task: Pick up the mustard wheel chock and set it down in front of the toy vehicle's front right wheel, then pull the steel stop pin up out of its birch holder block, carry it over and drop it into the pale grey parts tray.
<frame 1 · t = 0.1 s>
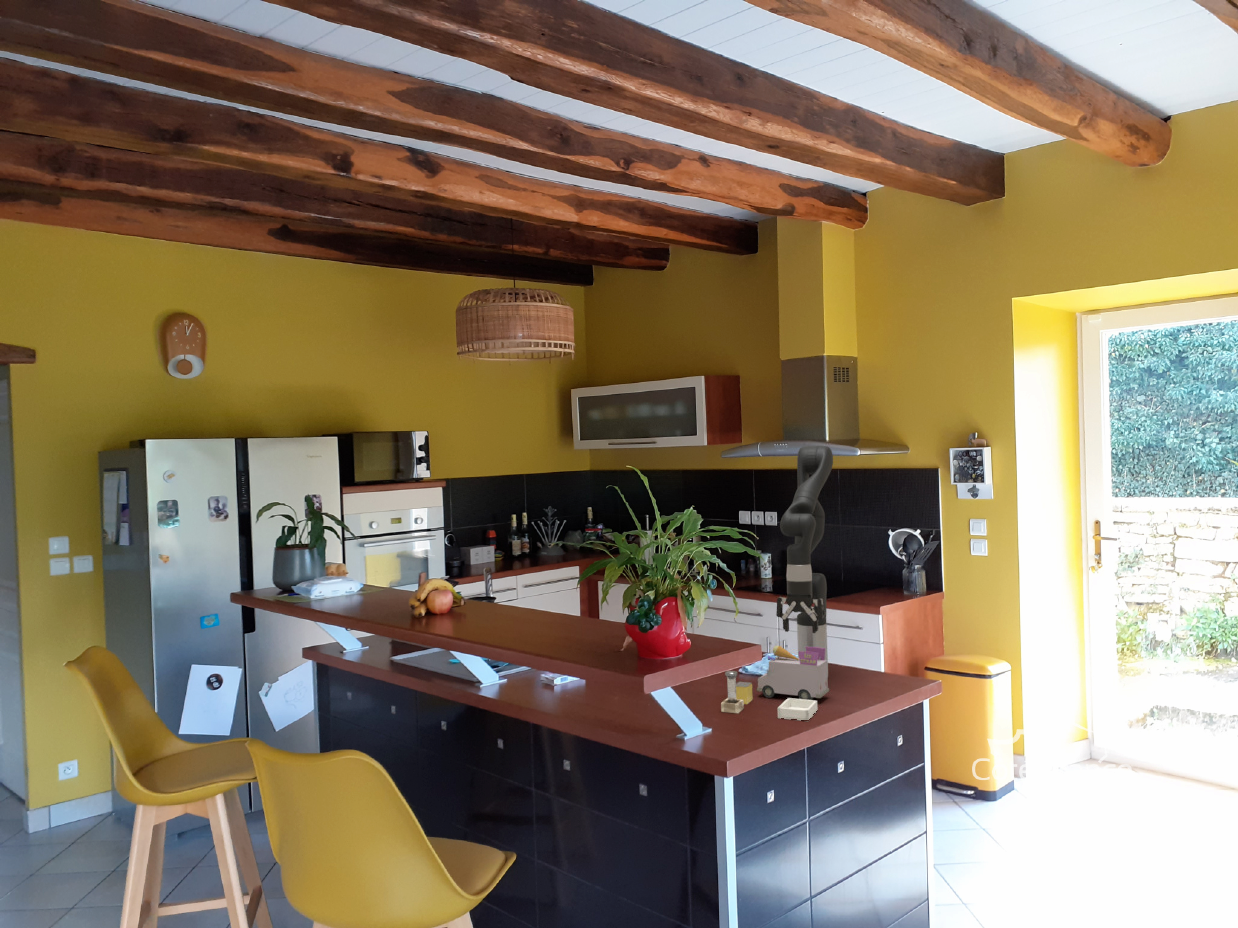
hand: (800, 631, 283), 17 cm above the worktop, tool pointing down, fingers open, 8 cm apart
pin: (732, 691, 263), in the holder
toy vehicle: (793, 698, 274), on the worktop
chock: (743, 701, 272), on the worktop
tray: (797, 714, 257), on the worktop
holder: (732, 710, 264), on the worktop
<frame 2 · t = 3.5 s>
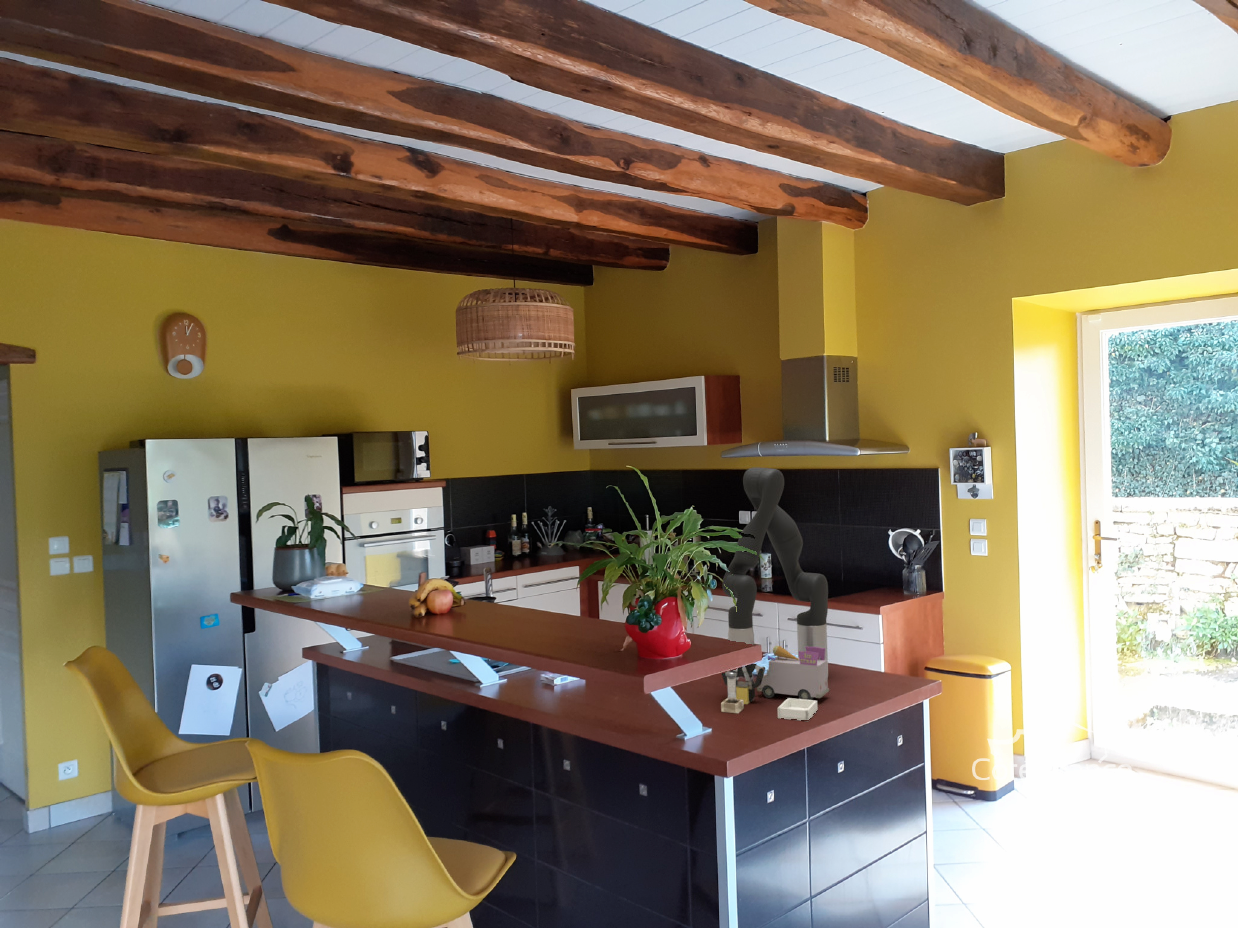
hand: (743, 699, 272), 0 cm above the worktop, tool pointing down, fingers closed on chock, 4 cm apart
chock: (743, 701, 272), on the worktop, touching gripper
everything else where it was.
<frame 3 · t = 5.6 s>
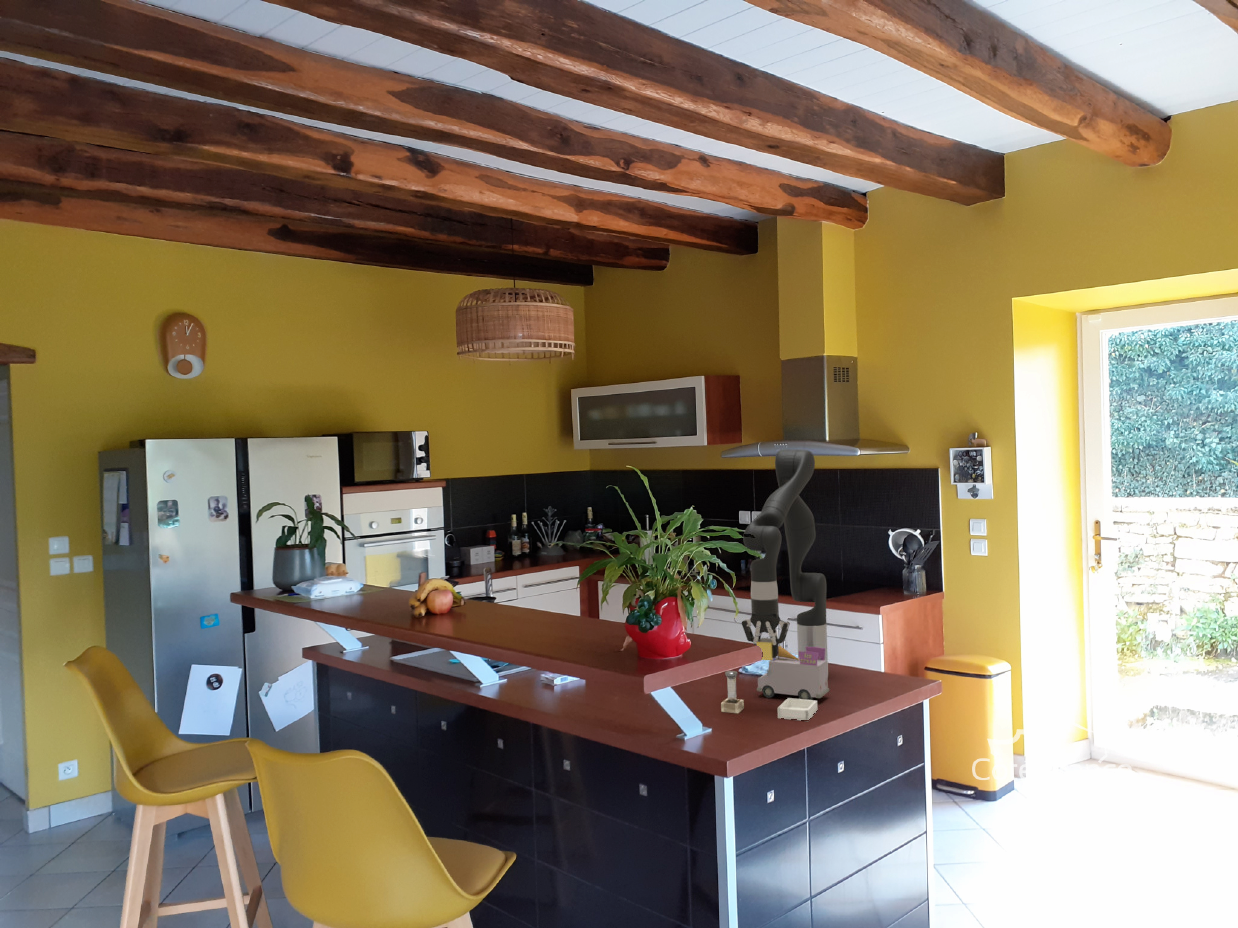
hand: (766, 656, 262), 15 cm above the worktop, tool pointing down, fingers closed on chock, 4 cm apart
chock: (766, 657, 262), point 15 cm above the worktop, touching gripper
everything else where it was.
when the fingers open (2 cm above the worktop, at t = 8.0 s): chock drops 1 cm, on the worktop.
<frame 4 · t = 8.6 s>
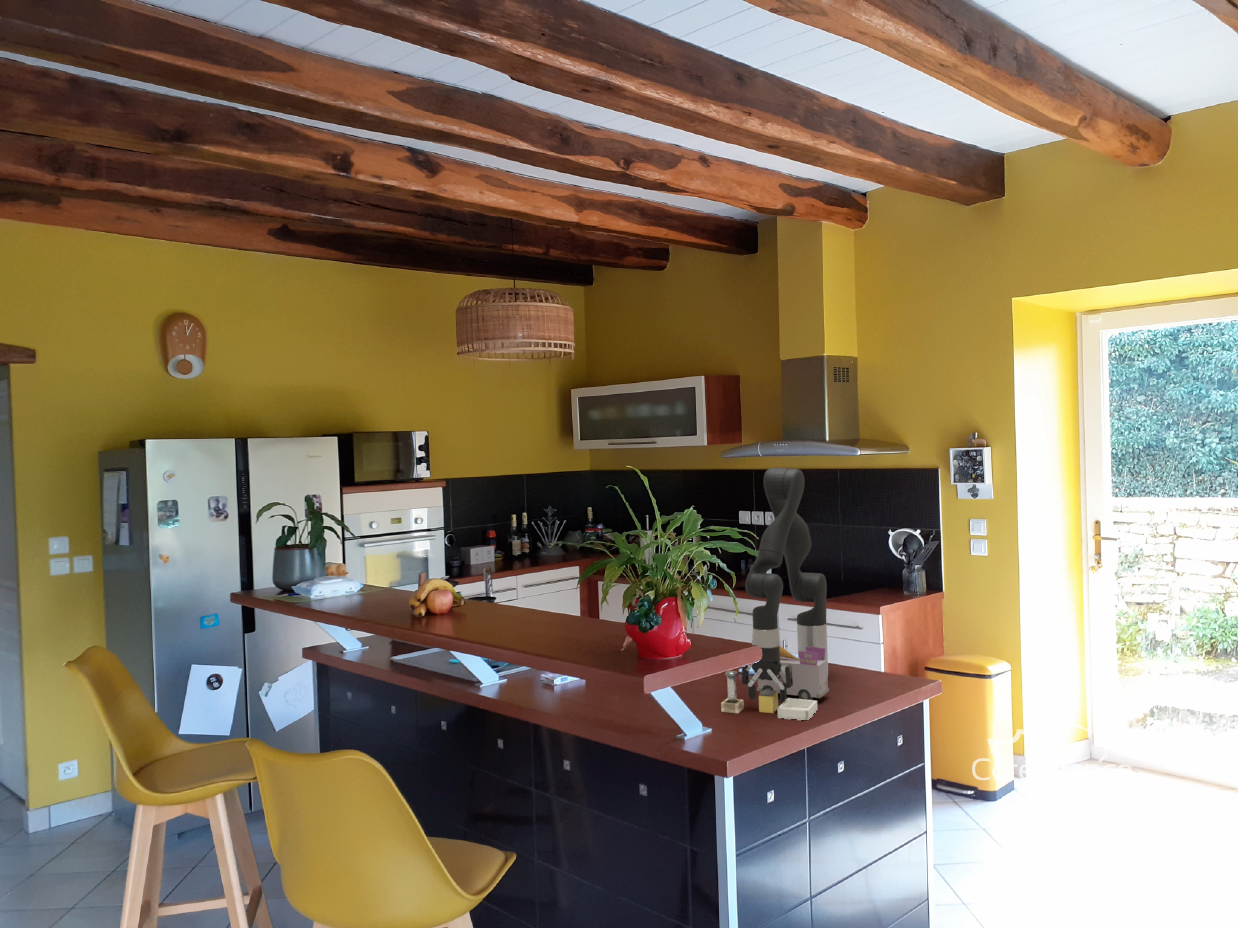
hand: (767, 700, 262), 3 cm above the worktop, tool pointing down, fingers open, 8 cm apart
chock: (768, 710, 262), on the worktop
everything else where it was.
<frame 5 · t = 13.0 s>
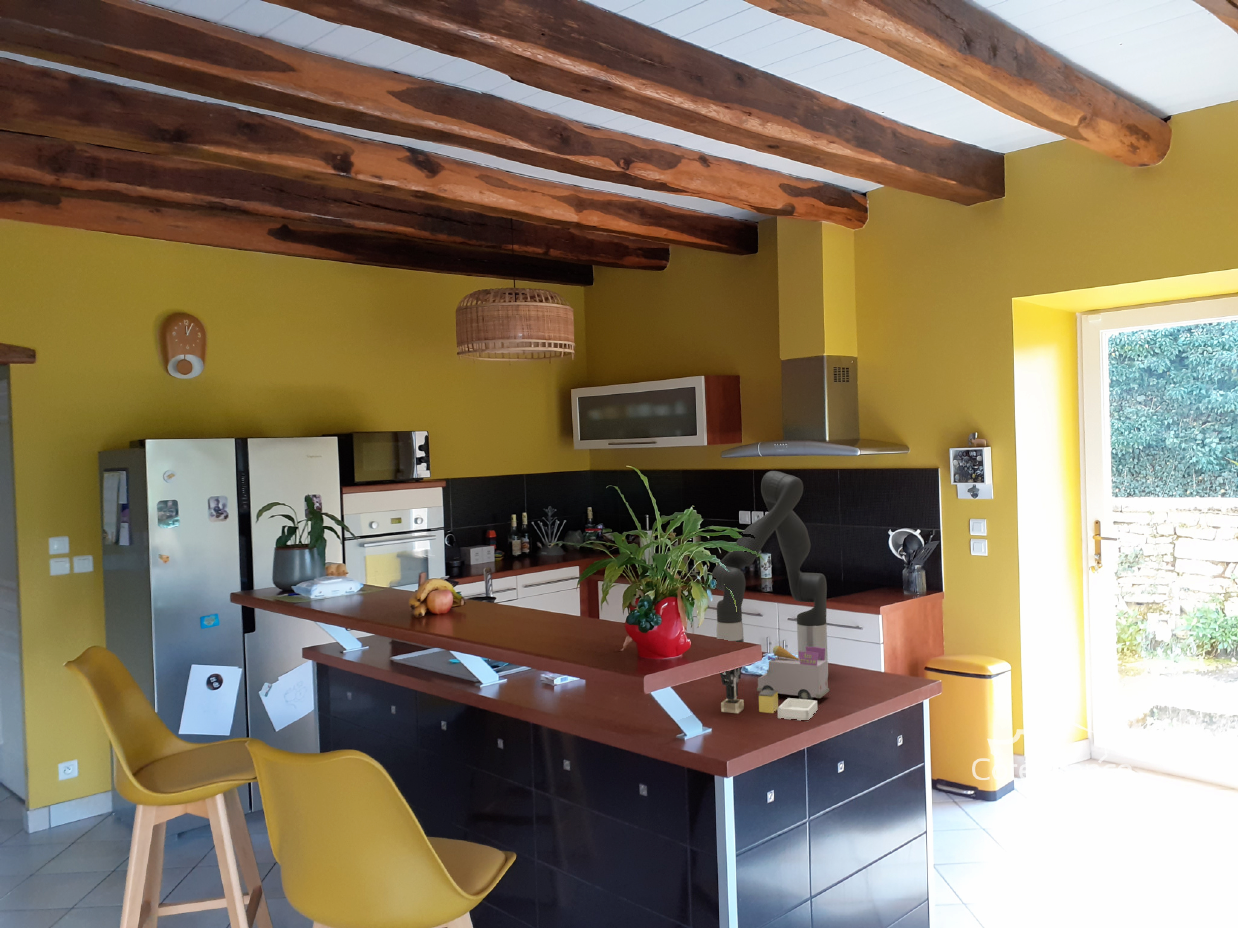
hand: (732, 697, 263), 4 cm above the worktop, tool pointing down, fingers closed on pin, 2 cm apart
pin: (732, 691, 263), in the holder, touching gripper
everything else where it was.
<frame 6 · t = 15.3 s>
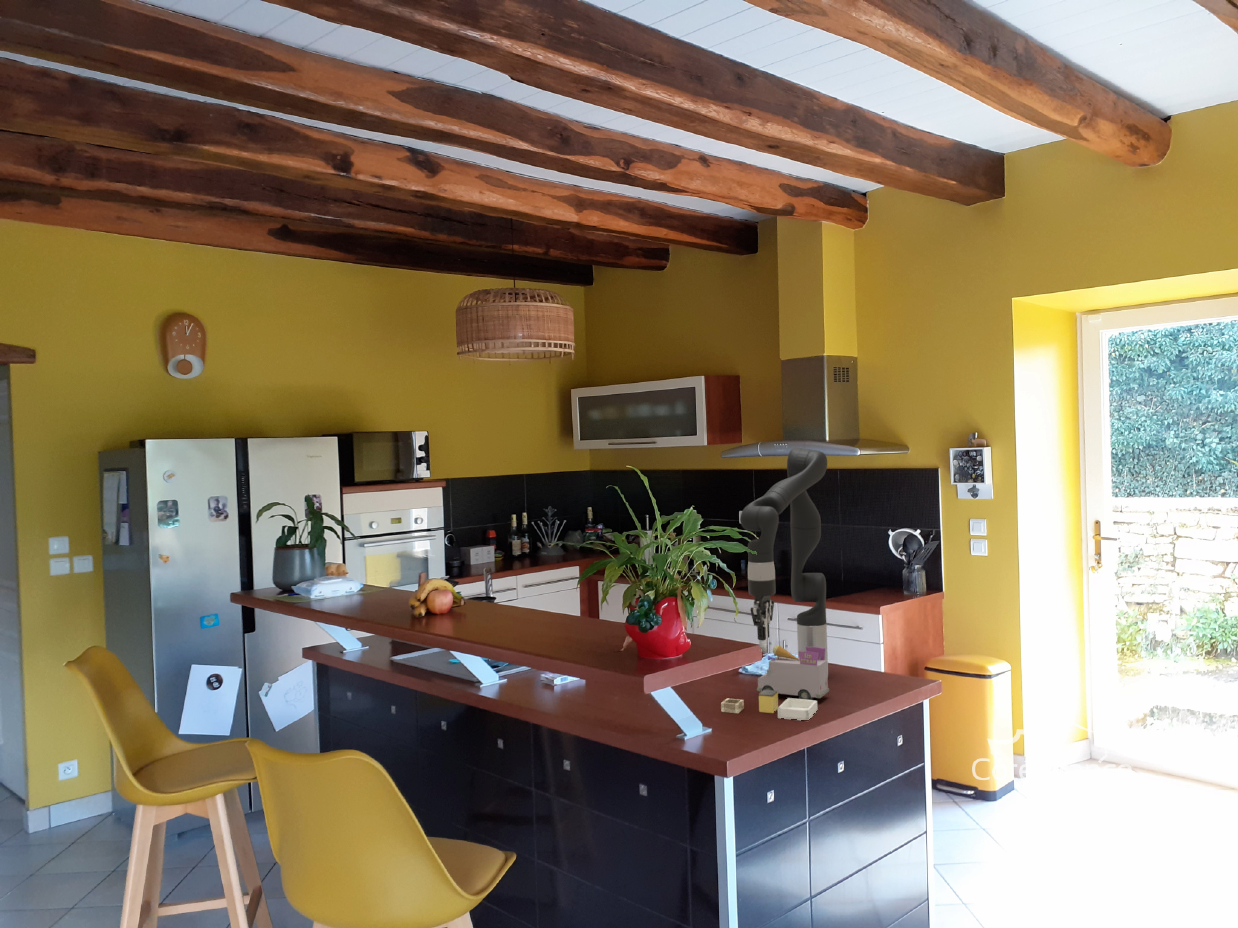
hand: (763, 638, 260), 21 cm above the worktop, tool pointing down, fingers closed on pin, 2 cm apart
pin: (763, 632, 260), point 22 cm above the worktop, touching gripper
everything else where it was.
when the fingers open (6 cm above the worktop, at t = 17.7 s): pin drops 2 cm, resting on tray.
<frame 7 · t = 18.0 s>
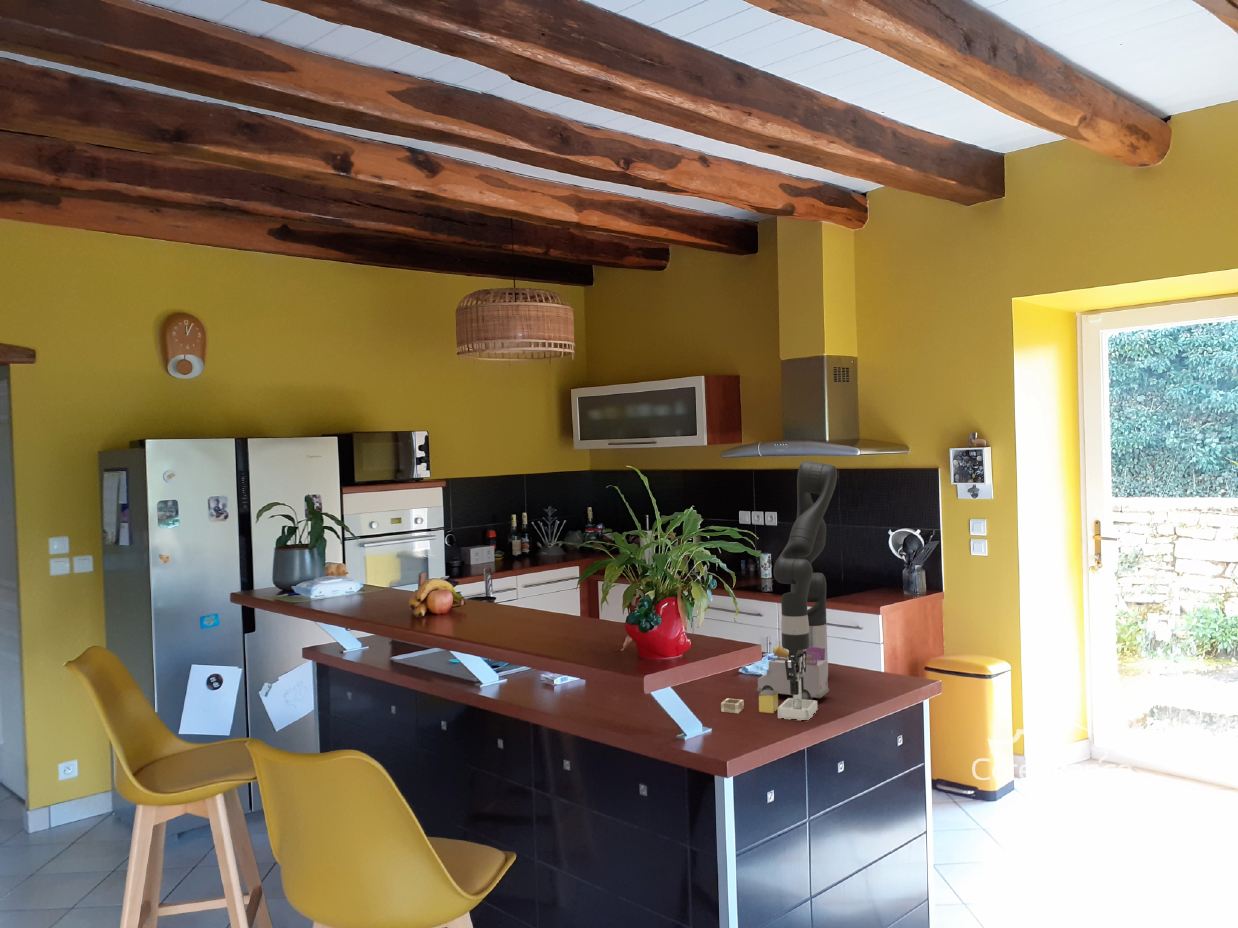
hand: (797, 691, 257), 6 cm above the worktop, tool pointing down, fingers open, 4 cm apart
pin: (797, 692, 257), in the tray, point 6 cm above the worktop
everything else where it was.
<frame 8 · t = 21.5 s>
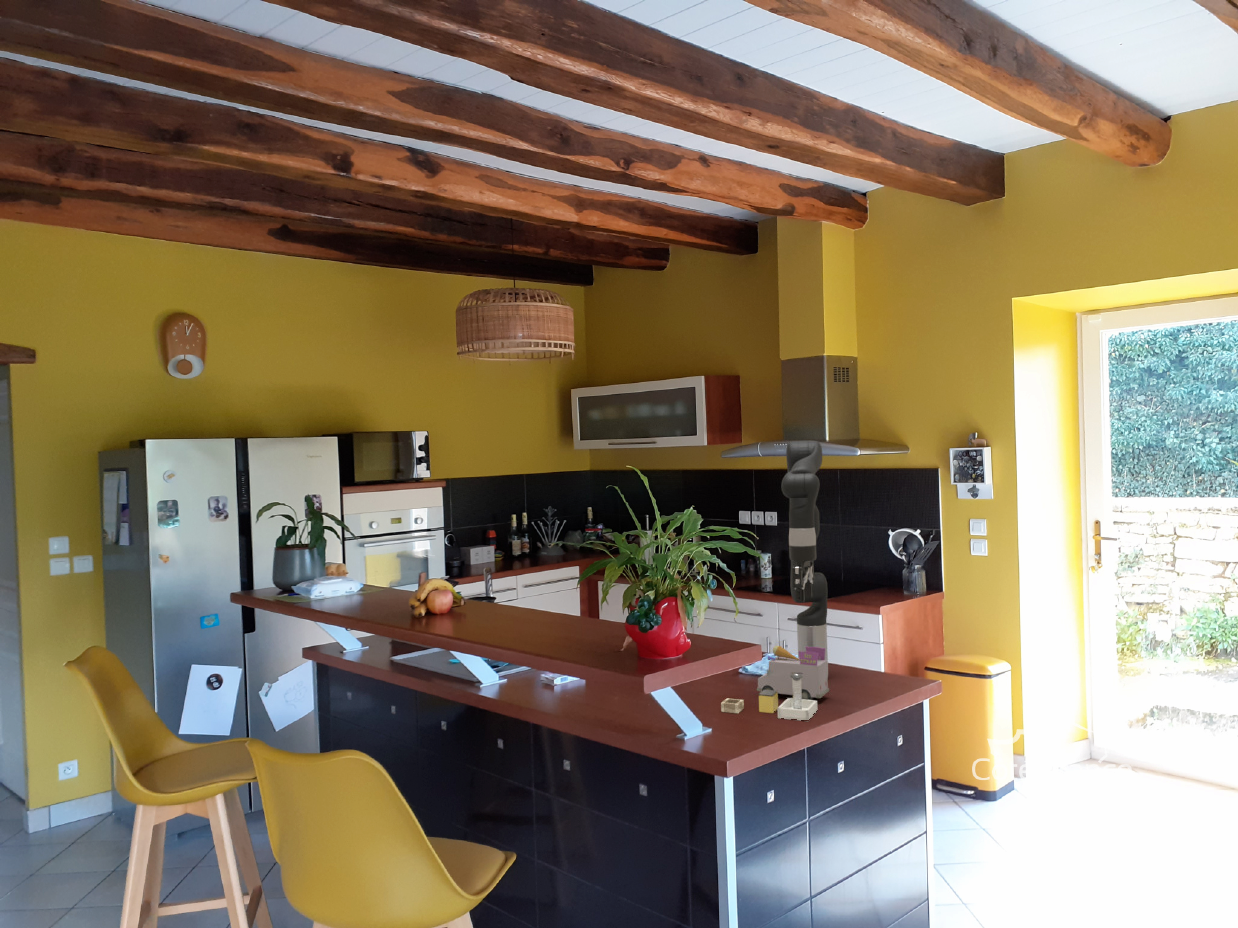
hand: (804, 599, 265), 30 cm above the worktop, tool pointing down, fingers open, 8 cm apart
nothing on the worktop moved.
at the end: chock inside the target area on the worktop beside the toy vehicle (0.2 cm from its centre), on the worktop; pin inside the target area (0.2 cm from its centre), point 6.0 cm above the worktop; toy vehicle moved 0.3 cm from its start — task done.
